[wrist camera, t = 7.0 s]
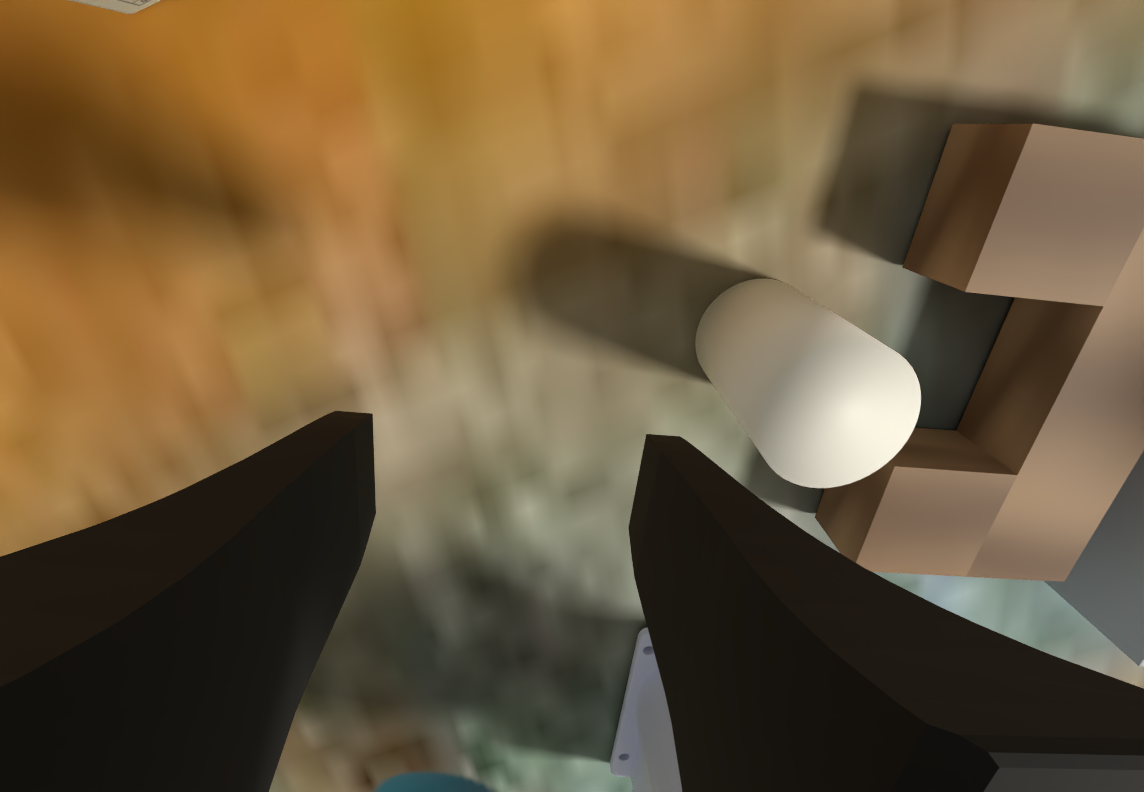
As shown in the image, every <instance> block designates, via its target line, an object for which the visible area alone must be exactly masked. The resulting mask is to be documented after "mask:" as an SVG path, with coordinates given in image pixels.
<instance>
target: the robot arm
mask: <svg viewBox="0 0 1144 792" xmlns="http://www.w3.org/2000/svg"><path fill="white" fill-rule="evenodd" d="M375 514H376V506H375V476H374V445H373V415H372V414H370V413H356V412H343V411H334V412H332V413H330V414H327V415H325V416H323V417H321V418H319V419H317V420H315V421H313V422H312V423H310V424H308V425H306V426H304V427H302V428H301V429H299V430H297V431H295V432H293V433H292V434H290V435H288V436H286V437H284V438H283V439H281V440H279V441H277V442H275V443H273V444H272V445H270V446H268V447H266V448H264V449H262V450H261V451H259V452H257V453H255V454H253V455H251V456H249V457H248V458H246V459H244V460H242V461H240V462H238V463H236V464H234V465H232V466H230V467H228V468H226V469H224V470H221V471H219V472H217V473H215V474H213V475H211V476H209V477H207V478H205V479H203V480H201V481H199V482H197V483H195V484H193V485H191V486H189V487H187V488H185V489H183V490H180V491H178V492H176V493H174V494H171V495H169V496H167V497H165V498H162V499H160V500H158V501H155V502H153V503H151V504H148V505H146V506H143V507H141V508H138V509H136V510H133V511H131V512H128V513H126V514H123V515H120V516H118V517H115V518H113V519H110V520H108V521H105V522H103V523H100V524H97V525H94V526H92V527H89V528H86V529H83V530H80V531H77V532H74V533H71V534H68V535H65V536H62V537H59V538H56V539H53V540H50V541H47V542H44V543H41V544H38V545H35V546H32V547H29V548H26V549H23V550H20V551H17V552H14V553H11V554H8V555H5V556H2V557H0V792H269V789H270V786H271V783H272V780H273V777H274V774H275V771H276V768H277V765H278V762H279V759H280V756H281V753H282V750H283V747H284V744H285V741H286V738H287V735H288V732H289V729H290V726H291V724H292V721H293V718H294V715H295V712H296V709H297V707H298V704H299V702H300V700H301V697H302V695H303V692H304V690H305V687H306V685H307V682H308V680H309V678H310V676H311V673H312V671H313V669H314V667H315V665H316V662H317V660H318V658H319V656H320V654H321V651H322V649H323V647H324V645H325V643H326V640H327V638H328V636H329V634H330V632H331V629H332V627H333V625H334V623H335V621H336V618H337V616H338V614H339V612H340V610H341V607H342V605H343V603H344V601H345V598H346V596H347V594H348V592H349V589H350V587H351V585H352V583H353V580H354V578H355V576H356V574H357V571H358V569H359V567H360V564H361V562H362V558H363V555H364V552H365V549H366V545H367V542H368V539H369V535H370V532H371V528H372V525H373V521H374V518H375ZM629 536H630V545H631V554H632V561H633V569H634V576H635V581H636V585H637V589H638V593H639V597H640V601H641V604H642V608H643V612H644V616H645V620H646V624H647V627H646V628H644V629H642V630H641V631H640V632H639V634H638V637H637V642H636V646H635V651H634V655H633V660H632V665H631V669H630V674H629V678H628V683H627V687H626V692H625V697H624V701H623V706H622V710H621V715H620V719H619V724H618V729H617V733H616V738H615V742H614V747H613V751H612V756H611V761H610V769H611V773H612V774H613V775H615V776H622V777H631V778H632V785H633V792H1144V689H1143V688H1140V687H1137V686H1135V685H1132V684H1129V683H1126V682H1124V681H1121V680H1118V679H1115V678H1113V677H1110V676H1107V675H1104V674H1102V673H1099V672H1096V671H1093V670H1091V669H1088V668H1085V667H1082V666H1080V665H1077V664H1074V663H1072V662H1069V661H1066V660H1063V659H1061V658H1058V657H1055V656H1052V655H1050V654H1047V653H1045V652H1042V651H1040V650H1037V649H1035V648H1032V647H1030V646H1028V645H1025V644H1023V643H1021V642H1018V641H1016V640H1013V639H1011V638H1009V637H1006V636H1004V635H1002V634H999V633H997V632H995V631H992V630H990V629H988V628H985V627H983V626H980V625H978V624H976V623H974V622H971V621H969V620H967V619H965V618H963V617H961V616H958V615H956V614H954V613H952V612H950V611H947V610H945V609H943V608H941V607H939V606H937V605H935V604H933V603H931V602H929V601H927V600H925V599H923V598H921V597H919V596H917V595H915V594H913V593H911V592H909V591H907V590H905V589H903V588H901V587H899V586H897V585H895V584H893V583H891V582H889V581H887V580H886V579H884V578H882V577H880V576H878V575H876V574H875V573H873V572H871V571H869V570H867V569H866V568H864V567H862V566H860V565H859V564H857V563H855V562H854V561H852V560H850V559H849V558H847V557H845V556H844V555H842V554H840V553H839V552H837V551H835V550H834V549H832V548H830V547H829V546H827V545H825V544H824V543H822V542H821V541H819V540H817V539H816V538H814V537H813V536H811V535H810V534H808V533H807V532H805V531H804V530H802V529H801V528H799V527H798V526H797V525H795V524H794V523H792V522H791V521H790V520H788V519H787V518H785V517H784V516H782V515H781V514H780V513H778V512H777V511H775V510H774V509H773V508H771V507H770V506H769V505H767V504H766V503H765V502H763V501H762V500H761V499H759V498H758V497H757V496H755V495H754V494H753V493H751V492H750V491H749V490H748V489H746V488H745V487H744V486H743V485H741V484H740V483H739V482H737V481H736V480H735V479H734V478H733V477H731V476H730V475H729V474H728V473H726V472H725V471H724V470H723V469H721V468H720V467H719V466H718V465H717V464H715V463H714V462H713V461H712V460H710V459H709V458H708V457H707V456H706V455H704V454H703V453H702V452H701V451H699V450H698V449H697V448H695V447H694V446H693V445H692V444H690V443H689V442H687V441H686V440H685V439H683V438H681V437H678V436H665V435H651V434H646V439H645V444H644V450H643V455H642V460H641V465H640V471H639V476H638V481H637V487H636V492H635V497H634V502H633V508H632V513H631V518H630V523H629ZM648 646H651V647H648ZM646 647H647V648H646Z"/></svg>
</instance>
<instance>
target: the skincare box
mask: <svg viewBox="0 0 1144 792" xmlns="http://www.w3.org/2000/svg"><path fill="white" fill-rule="evenodd" d="M69 1H74V2H78V3H83V4H87V5H91V6H96V7H100V8H104V9H109V10H113V11H117V12H121V13H125V14H133V13H136V12H138V11H140V10H142V9H144V8H147V7H149V6H151V5H153V4H155V3H157V2H159V1H161V0H69Z"/></svg>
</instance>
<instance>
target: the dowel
mask: <svg viewBox="0 0 1144 792" xmlns="http://www.w3.org/2000/svg"><path fill="white" fill-rule="evenodd" d="M695 349H696V355H697V358H698V361H699V364H700V366H701V368H702V369H703V371H704V372H705V374H706V375H707V377H708V378H709V380H710V381H711V383H712V384H713V385H714V387H715V388H716V390H717V391H718V393H719V394H720V396H721V397H722V398H723V400H724V401H725V403H726V404H727V406H728V407H729V409H730V410H731V411H732V413H733V414H734V416H735V417H736V419H737V420H738V422H739V423H740V425H741V426H742V427H743V429H744V430H745V432H746V433H747V435H748V436H749V438H750V439H751V440H752V442H753V443H754V445H755V446H756V448H757V449H758V451H759V452H760V453H761V455H762V456H763V458H764V459H765V461H766V462H767V463H768V465H769V466H770V467H771V469H773V470H774V471H775V472H776V473H777V474H778V475H779V476H781V477H782V478H784V479H786V480H788V481H789V482H791V483H794V484H797V485H800V486H805V487H810V488H831V487H838V486H842V485H846V484H850V483H853V482H855V481H858V480H860V479H863V478H865V477H867V476H869V475H870V474H872V473H874V472H875V471H877V470H879V469H880V468H881V467H883V466H884V465H885V464H887V463H888V462H889V461H890V460H891V459H892V458H893V457H894V456H895V455H896V454H897V453H898V452H899V451H900V450H901V449H902V447H903V446H904V444H905V443H906V442H907V440H908V439H909V437H910V435H911V433H912V432H913V430H914V427H915V425H916V423H917V420H918V416H919V412H920V406H921V391H920V385H919V381H918V378H917V375H916V373H915V372H914V370H913V368H912V367H911V365H910V364H909V363H908V362H907V360H906V359H905V358H903V357H902V356H901V355H900V354H899V353H897V352H896V351H894V350H892V349H891V348H889V347H888V346H886V345H884V344H883V343H881V342H880V341H878V340H876V339H875V338H873V337H872V336H870V335H868V334H867V333H865V332H864V331H862V330H860V329H859V328H857V327H856V326H854V325H852V324H851V323H849V322H848V321H846V320H844V319H843V318H841V317H840V316H838V315H836V314H835V313H833V312H832V311H830V310H828V309H827V308H825V307H824V306H822V305H820V304H819V303H817V302H816V301H814V300H812V299H811V298H809V297H808V296H806V295H804V294H803V293H801V292H800V291H798V290H797V289H795V288H793V287H792V286H790V285H788V284H786V283H784V282H782V281H778V280H774V279H766V278H764V279H752V280H748V281H744V282H741V283H739V284H736V285H734V286H732V287H730V288H729V289H727V290H725V291H724V292H723V293H721V294H720V295H719V296H718V297H717V298H716V299H715V300H714V301H713V302H712V303H711V304H710V305H709V306H708V308H707V309H706V311H705V312H704V314H703V316H702V318H701V320H700V322H699V325H698V328H697V332H696V339H695Z"/></svg>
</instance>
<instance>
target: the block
mask: <svg viewBox="0 0 1144 792" xmlns="http://www.w3.org/2000/svg"><path fill="white" fill-rule="evenodd" d="M903 268H905V269H908V270H910V271H913V272H915V273H918V274H920V275H923V276H926V277H928V278H931V279H933V280H936V281H938V282H941V283H943V284H946V285H949V286H951V287H954V288H956V289H959V290H961V291H964V292H971V293H980V294H990V295H999V296H1009V297H1015V299H1014V301H1013V303H1012V306H1011V308H1010V310H1009V313H1008V315H1007V317H1006V319H1005V322H1004V324H1003V326H1002V328H1001V331H1000V333H999V335H998V337H997V340H996V342H995V344H994V347H993V349H992V351H991V353H990V356H989V358H988V360H987V362H986V365H985V367H984V369H983V371H982V374H981V376H980V378H979V380H978V383H977V385H976V387H975V390H974V392H973V394H972V396H971V399H970V401H969V403H968V405H967V408H966V410H965V412H964V414H963V417H962V419H961V421H960V424H959V426H958V428H957V430H956V431H954V430H942V429H929V428H917V427H914V430H913V432H912V433H911V435H910V437H909V439H908V440H907V442H906V443H905V444H904V446H903V447H902V449H901V450H900V451H899V452H898V453H897V454H896V455H895V456H894V457H893V458H892V459H891V460H890V461H889V462H888V463H887V464H885V465H884V466H883V467H881V468H880V469H879V470H877V471H875V472H874V473H872V474H870V475H869V476H867V477H865V478H863V479H860V480H858V481H855V482H853V483H850V484H846V485H842V486H838V487H831V488H825V490H824V493H823V496H822V498H821V501H820V504H819V507H818V510H817V513H816V516H815V518H816V519H817V521H818V522H819V524H820V525H821V526H822V528H823V529H824V531H825V532H826V533H827V535H828V536H829V538H830V539H831V541H832V542H833V543H834V545H835V546H836V548H837V549H838V550H839V552H840V553H841V554H842V555H844V556H845V557H847V558H849V559H850V560H852V561H854V562H855V563H857V564H859V565H860V566H862V567H864V568H866V569H867V570H869V571H871V572H890V573H909V574H928V575H946V576H965V577H984V578H1003V579H1022V580H1041V581H1060V582H1065V580H1066V578H1067V577H1068V575H1069V573H1070V572H1071V570H1072V568H1073V567H1074V565H1075V563H1076V562H1077V560H1078V558H1079V557H1080V555H1081V553H1082V552H1083V550H1084V548H1085V547H1086V545H1087V543H1088V542H1089V540H1090V538H1091V537H1092V535H1093V534H1094V532H1095V530H1096V529H1097V527H1098V525H1099V524H1100V522H1101V520H1102V519H1103V517H1104V515H1105V514H1106V512H1107V510H1108V509H1109V507H1110V505H1111V504H1112V502H1113V500H1114V499H1115V497H1116V495H1117V494H1118V492H1119V490H1120V489H1121V487H1122V485H1123V484H1124V482H1125V480H1126V479H1127V477H1128V476H1129V474H1130V472H1131V471H1132V469H1133V467H1134V466H1135V464H1136V462H1137V461H1138V459H1139V457H1140V456H1141V454H1142V452H1143V451H1144V139H1143V138H1135V137H1128V136H1121V135H1113V134H1106V133H1099V132H1091V131H1084V130H1077V129H1070V128H1062V127H1055V126H1048V125H1040V124H1033V123H1032V124H953V125H952V128H951V131H950V134H949V137H948V140H947V142H946V145H945V148H944V151H943V154H942V157H941V160H940V162H939V165H938V168H937V171H936V174H935V177H934V179H933V182H932V185H931V188H930V191H929V194H928V197H927V199H926V202H925V205H924V208H923V211H922V214H921V217H920V219H919V222H918V225H917V228H916V231H915V234H914V236H913V239H912V242H911V245H910V248H909V251H908V254H907V256H906V259H905V262H904V265H903Z"/></svg>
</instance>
